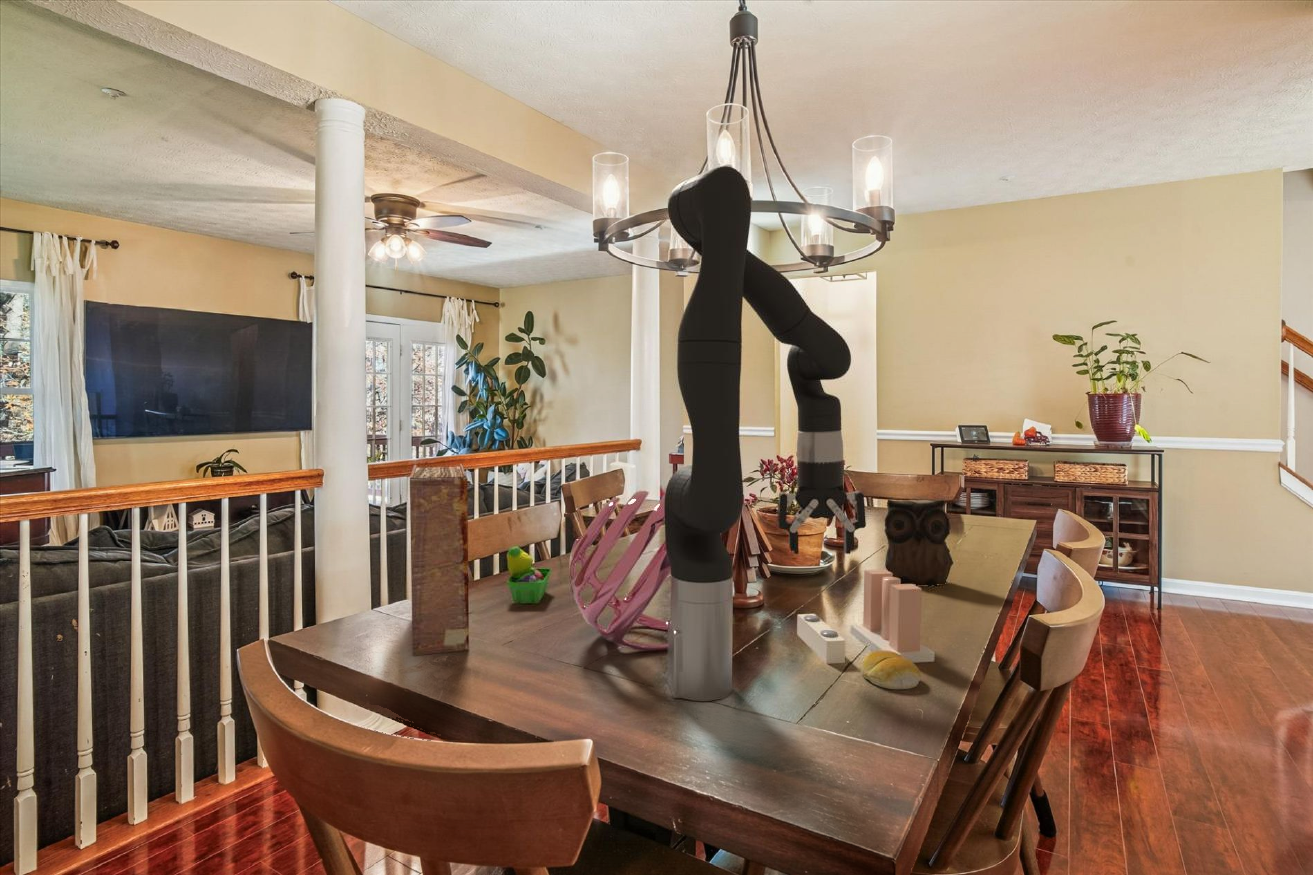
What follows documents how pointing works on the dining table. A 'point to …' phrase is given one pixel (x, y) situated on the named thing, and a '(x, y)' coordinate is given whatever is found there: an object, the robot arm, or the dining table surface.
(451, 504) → the book
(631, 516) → the spiral basket
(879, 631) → the display stand
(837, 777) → the dining table surface
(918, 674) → the bread roll
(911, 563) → the owl
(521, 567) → the fruit basket
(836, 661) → the frame bar
